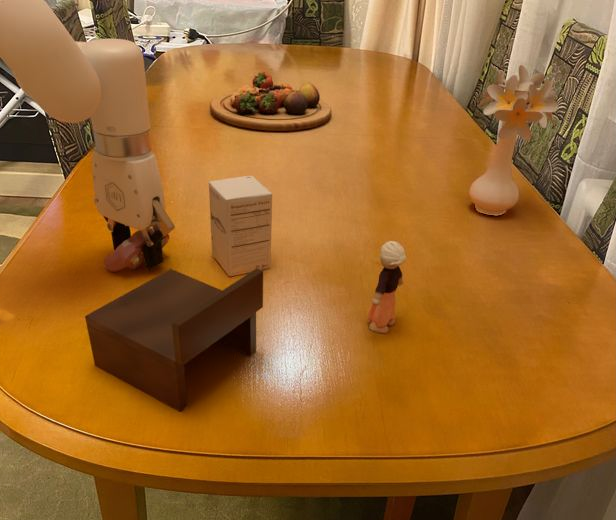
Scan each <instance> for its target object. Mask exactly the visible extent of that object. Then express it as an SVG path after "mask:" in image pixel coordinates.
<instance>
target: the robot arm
mask: <svg viewBox="0 0 616 520" xmlns="http://www.w3.org/2000/svg"><path fill="white" fill-rule="evenodd" d="M0 59H1V60H2V62H4V64H5V66H7V67H8V69H9V70H10V71H11V72H12V73H13V77H14V79H15V81H16V83H17V84H18V86H19V88H20V89H21V90H22V91H23V93H24V94H25V95H26V96H27V97H28V98H30V100H32V101H33V102H34V103H35V104H36V105H37V106H38V107H39V108H40V109H41V110H42V111H43V112H45V114H47V115H48V116H50V117H51V118H52V119H53V120H54V119H55V120H57V121H59V122H62V123H67V124H76V123H81V122H84V121H87V120H88V119H89V118H90V121H91V127H92V134H93V139H94V145H95V147H94V148H93V149H92V163H91V164H92V167H91V168H92V182H93V191H94V198H93V203H94V204H95V206H96V209H97V211H98V213H99V214H100V215H102V217H103V218H104V220H105V221H106V222H107V223H106V227H107V229H108V230H109V231H110V234H111V240H112V246H113V252H114V251H115V250H116V248H117V247H118V246H119V245H120V244H122V243H123V242H124V241H125V240H127V239H129V238H130V237H131V236H132V233H131V228H132V229H134V230H136V231H139V230H141V232H142V235H143V237H144V240H145V243H146V244H144V245H143V252H144V258H143V260H144V266H145V269H147V270H152V269H154V268H156V267H157V266H159V265H162V264H163V263H164V253H163V248H162V242H161V241H162V240H164V238H165V237H166V236H167V235H169V234H170V233H171V232H172V231H173V230H175V227H176V226H175V223H174V222H173V220H172V219H171V218H170V215H168V213H167V212H166V201H165V192H164V187H163V181H162V176H161V171H160V168H159V167H160V166H159V163H158V159H157V156H156V154H155V153H154V147H153V138H152V137H153V135H152V127H151V119H150V108H149V99H148V89H147V87H148V86H147V79H146V68H145V60H144V54H143V51H142V49H141V47H140V46H139V45H138V44H137V43H136V42H134V41H131V40H128V39H123V38H97V39H92V40H90V41H76V40H74V38H73V36H72V35H71V33H69V31H68V30H67V27H66V26H64V24H63V23H62V21H61V20H60V19H59V17H58V16H57V14H56V13H55V12H54V10H53V9H52V8H51V7H50V6H49V4H48V3H47V1H46V0H0ZM150 228H153V230H154V233H153V234H152V235H151V234H150V231H149V229H150ZM143 252H142V253H143Z"/></svg>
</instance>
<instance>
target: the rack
mask: <svg viewBox="0 0 616 520" xmlns="http://www.w3.org/2000/svg"><path fill="white" fill-rule="evenodd" d="M262 308H264V271H263V270H259V269H255V270H254V271H252V272H250V273H246V275H244V276H243V277H241V278H240V279H238V280H236V281H235V282H233V283H231V284H230V285H229V286H226V287H225V288H223V289H220V288H218V287H215V286H213V285H210V284H208V283H205V282H203V281H201V280H198V279H196V278H193V277H191V276H189V275H186V274H184V273H182V272H180V271H177V270H175V269H172V268H169V269H167V270H166V271H164V272H162V273H160V274H159V275H157V276H155V277H153V278H151V279H150V280H148V281H146V282H144V283H142V284H141V285H139V286H136V287H135V288H133V289H131V290H130V291H128V292H126V293H123V294H122V295H121V296H119V297H117V298H115V299H113V300H111V301H109V302H108V303H106V304H104V305H103V306H101V307H99V308H96V309H95V310H93V311H91V312H90V313H88V314H86V315H85V316H84V318H85V324H86V329H87V334H88V339H89V343H90V348H91V353H92V357H93V363H94V366H96V367H98V368H100V369H102V370H103V371H105V372H106V373H108V374H110V375H113V376H114V377H116V378H118V379H119V380H122V381H123V382H125V383H127V384H129V385H131V386H132V387H134V388H136V389H138V390H140V391H142V392H144V393H145V394H148V396H150V397H153V398H154V399H156V400H158V401H160V402H161V403H163V404H165V405H167V406H169V407H171V408H173V409H175V410H176V411H177V412H182V411H183V410H185V409H186V408H188V398H187V385H186V377H185V375H186V374H185V366H184V365H186V364H187V363H188V362H190V361H191V360H193V359H194V358H196V357H197V356H198V355H200V354H202V352H204V351H205V350H206V349H208V348H209V347H211V346H212V345H213V344H215V343H216V342H219V343H222V344H224V345H226V346H227V347H230V348H232V349H234V350H236V351H238V352H241V353H243V354H245V355H247V356H249V357H252V356H253V355H254V354H256V352H257V312H258V311H260V310H261V309H262Z"/></svg>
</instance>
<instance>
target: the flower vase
mask: <svg viewBox="0 0 616 520" xmlns="http://www.w3.org/2000/svg"><path fill="white" fill-rule="evenodd" d="M505 75H506V69H504V70H503V69H500V70H499V72H498V74H497V76H496V78H495V82H494V84H493V83H492V84H489V85H488V86H487V88H486V90H485V92H484V93H483V94H482V99H483V98H484V99H483V100H482V101H481V102H480V103H479V104H478V105H477V108H479V107H481V106H482V105H485V104H486V103H488V102H490V103H489V104H487V105H486V107H485V108H484V109H483V111H482V113H483V115H485V116H490V115H493V116H494V117H495V119H496V120H498V121H500V122H501V126H500V127H501V128H500V129H499V130H498V135H497V137H498V141H497V144H496V149H495V152H494V155H493V158H492V161H491V163H490V165H489V166H488V168H487V169H486V171H485V172H484V173H483V174H481V175H480V176H479V177H476V179H475V180H473V182H472V183H471V185H470V186H469V189H468V197H469V199H470V201H471V202H472V203H473V204H475V207H476V208H477V209H478V210H479V211H482V212H484V213H488V214H500V213H503V212H505V211H506V210H507V211H508V210H510V209H512V208H513V207H514V206H515V205H517V203H518V201H519V200H520V190H519V186H518V185H517V183H516V181H515V180H514V178H513V174H512V172H513V171H512V161H513V156H514V152H515V151H514V150H515V147H516V142H517V138H518V136H519V138H520V139H522V140H523V141H529V140H530V139H531V137H532V132H531V128H530V125H529V123H530V124H533V123H537V122H538V123H539V125H540V126H541V128H542V129H546V128H547V127H548V120H549V122H550V123H553V113H556V112H557V111H558V110H559V103H558V102H557V101H555V97H556V96H555V95H556V93H555V90H554V89H553V90H552V88H553V85H554V82H555V76H552V79H551V80H549V79H548V80H545V78H546V76H545V73H543V72H542V71H541V72H536V73H534V74H532V76H530V77H529V72H528V69H527V67H526V66H525V65H524V64H519V66H518V76H517V75H515V74H513V75H511V76H510V77H509V78H508V79H505ZM544 80H545V81H544ZM542 83H543V84H542ZM540 85H541V87H539V86H540ZM492 100H494V101H492ZM491 101H492V102H491Z"/></svg>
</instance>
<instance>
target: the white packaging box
mask: <svg viewBox="0 0 616 520" xmlns="http://www.w3.org/2000/svg"><path fill="white" fill-rule="evenodd" d="M208 193H209V194H208V196H209V217H210V219H209V220H210V240H211V241H210V243H211V256H212V257H213V258H214V259H215V261H216V262H217V263H218V264H219V265H220V267H221V268H222V269H223V271H224V272H225V273H226V275H227V276H228V277H235V276H240V275H244V274H249V273H250V272H252V271H254V270H255V269H259V270H262V271H263V270H269V269H271V267H272V227H273V225H272V221H273V192H271V190H269V189H268V188H267V187H266V186H264V185H263V183H261V182H260V181H259V180H258V179H256V178H255V177H254V176H253V175H243V176H236V177H229V178H222V179H215V180H209V181H208Z"/></svg>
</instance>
